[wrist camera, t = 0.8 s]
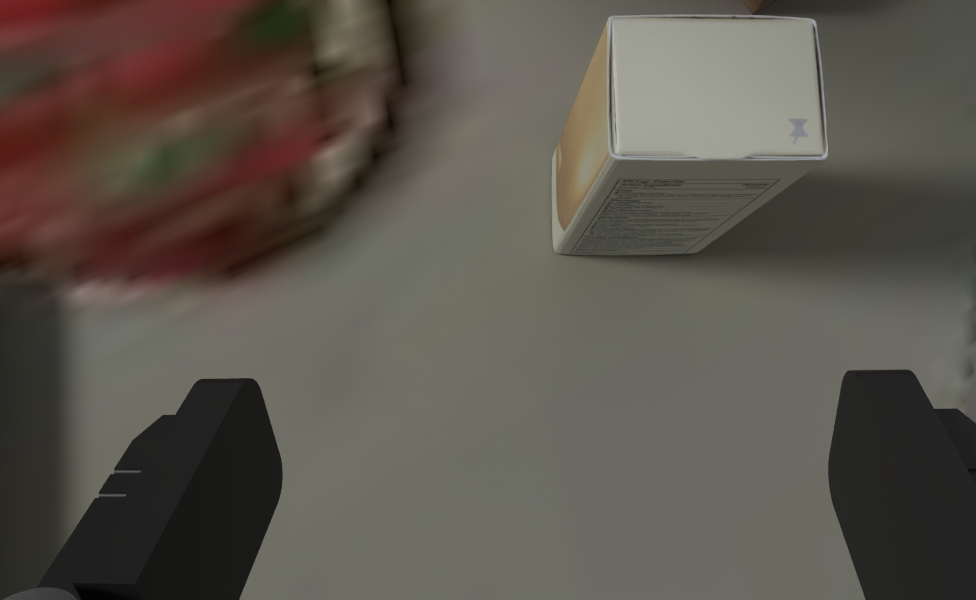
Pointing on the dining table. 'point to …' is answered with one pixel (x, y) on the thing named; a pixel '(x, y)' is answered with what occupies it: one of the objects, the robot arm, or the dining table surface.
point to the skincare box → (686, 131)
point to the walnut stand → (756, 4)
